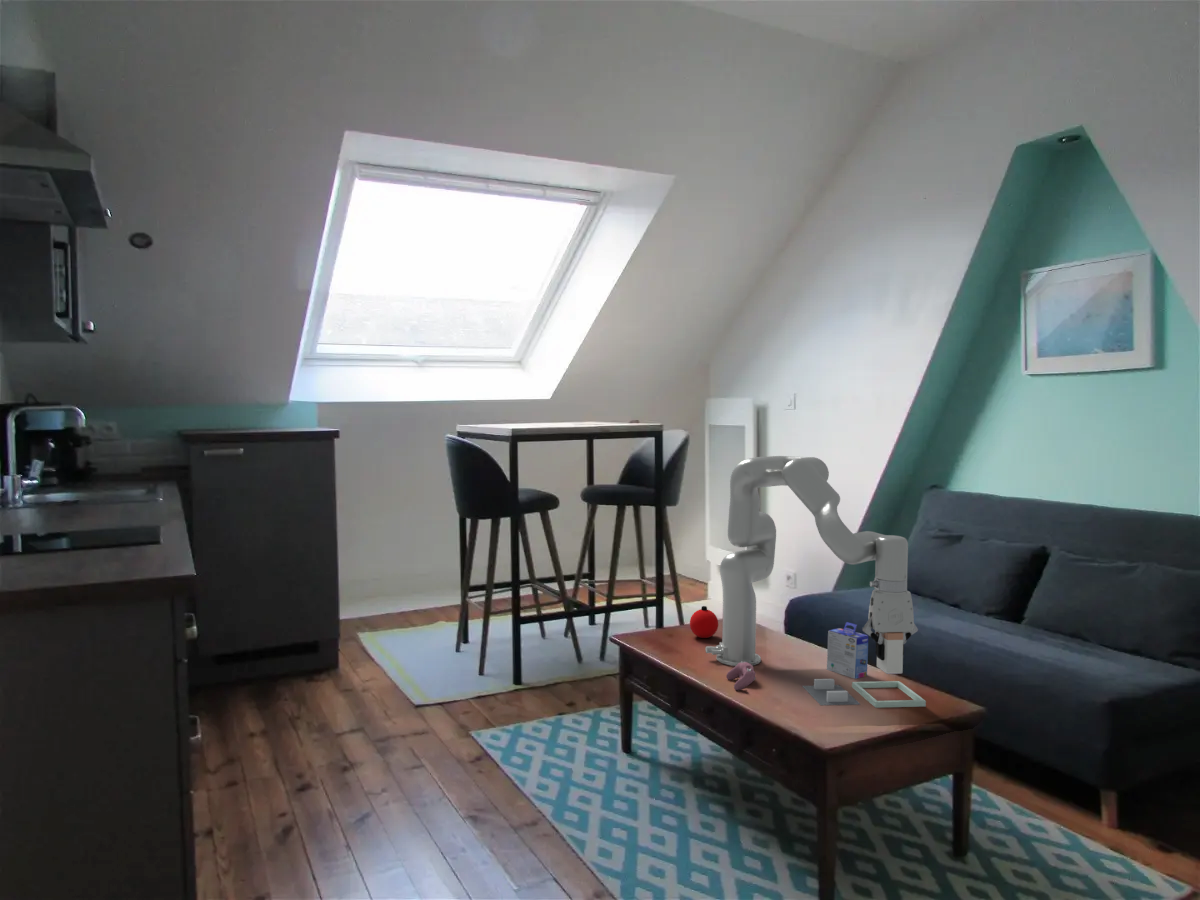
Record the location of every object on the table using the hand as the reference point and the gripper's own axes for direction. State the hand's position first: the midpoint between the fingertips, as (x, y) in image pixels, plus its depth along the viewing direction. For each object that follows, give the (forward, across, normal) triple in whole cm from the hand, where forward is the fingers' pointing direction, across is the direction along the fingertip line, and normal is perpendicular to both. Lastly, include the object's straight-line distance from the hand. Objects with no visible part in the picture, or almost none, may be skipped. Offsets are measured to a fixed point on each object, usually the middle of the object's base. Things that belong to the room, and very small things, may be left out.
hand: (889, 657), depth 210 cm
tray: (+11, 0, 0) cm, 11 cm away
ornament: (+11, -34, +59) cm, 69 cm away
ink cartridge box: (+11, -3, +19) cm, 22 cm away
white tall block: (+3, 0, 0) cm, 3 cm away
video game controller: (+11, -34, +15) cm, 38 cm away
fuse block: (+11, -14, +2) cm, 18 cm away
